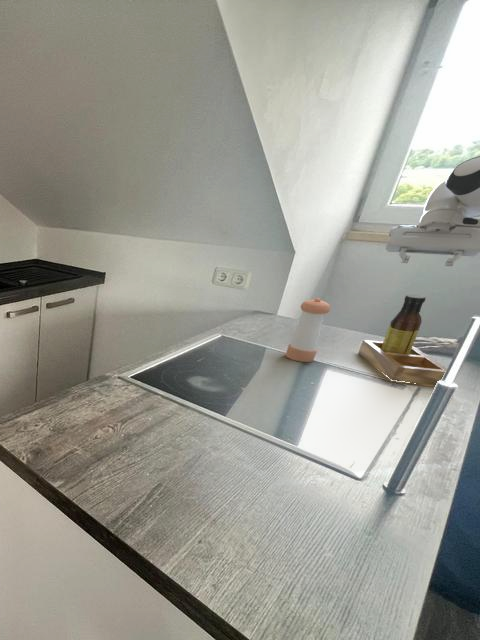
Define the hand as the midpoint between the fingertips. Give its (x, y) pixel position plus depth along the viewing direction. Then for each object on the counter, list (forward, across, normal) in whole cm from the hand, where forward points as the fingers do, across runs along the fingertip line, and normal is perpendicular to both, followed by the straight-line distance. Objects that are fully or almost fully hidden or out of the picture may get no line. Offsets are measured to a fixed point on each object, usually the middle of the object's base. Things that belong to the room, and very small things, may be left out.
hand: (426, 263), depth 117 cm
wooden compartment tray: (+34, +2, +4) cm, 35 cm away
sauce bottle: (+31, 0, +7) cm, 31 cm away
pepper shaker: (+40, -21, -1) cm, 45 cm away
